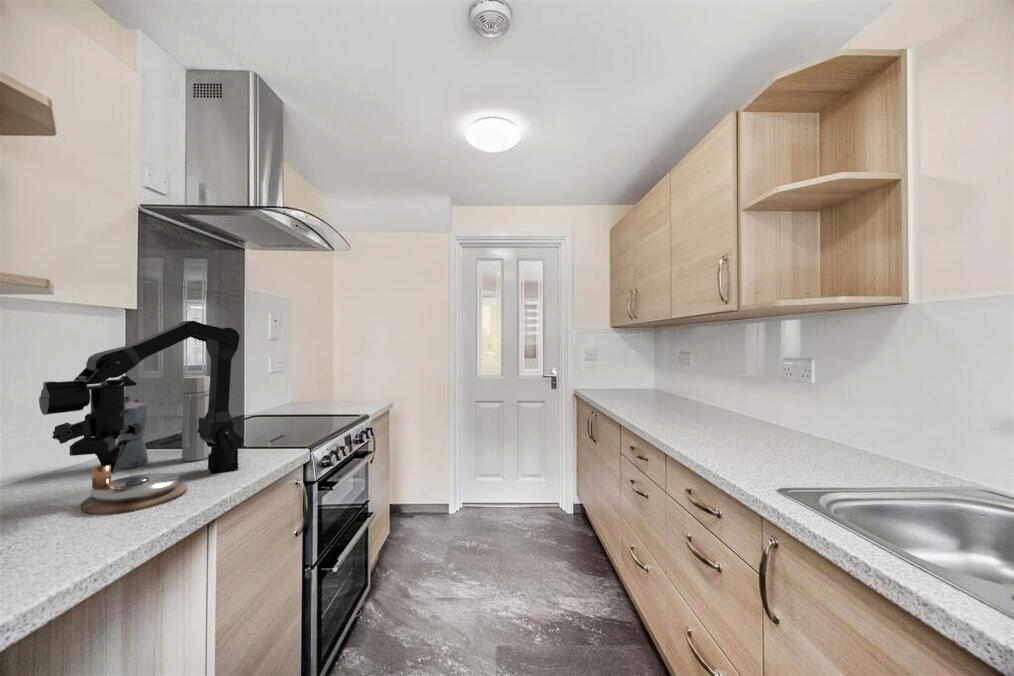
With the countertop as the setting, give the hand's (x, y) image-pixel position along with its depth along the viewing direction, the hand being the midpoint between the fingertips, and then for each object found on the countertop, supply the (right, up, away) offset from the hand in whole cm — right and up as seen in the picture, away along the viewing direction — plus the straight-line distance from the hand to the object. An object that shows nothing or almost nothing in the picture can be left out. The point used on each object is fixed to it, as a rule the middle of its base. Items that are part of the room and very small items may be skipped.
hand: (108, 474), depth 96 cm
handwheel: (+7, -4, -1) cm, 8 cm away
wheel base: (+7, -5, -1) cm, 9 cm away
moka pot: (-18, -6, +25) cm, 32 cm away
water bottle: (-3, -6, +31) cm, 31 cm away
